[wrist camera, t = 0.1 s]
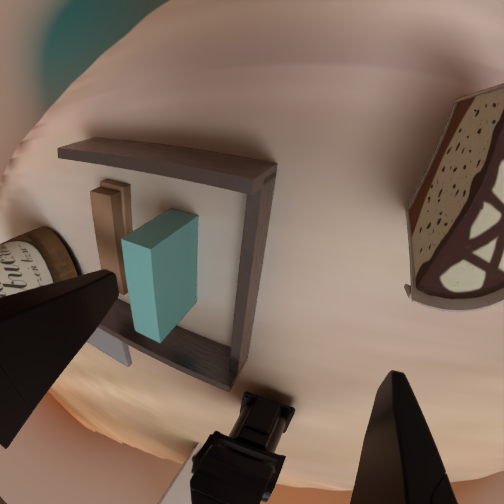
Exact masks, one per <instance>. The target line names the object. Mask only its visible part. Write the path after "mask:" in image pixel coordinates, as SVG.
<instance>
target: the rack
mask: <svg viewBox="0 0 504 504" xmlns="http://www.w3.org/2000/svg"><path fill="white" fill-rule="evenodd" d="M58 158H61V159H68V160H75V161H82V162H88V163H94V164H101V165H107V166H113V167H119V168H124V169H130V170H135V171H141V172H146V173H152V174H157V175H162V176H167V177H172V178H177V179H182V180H187V181H192V182H197V183H201V184H206V185H211V186H215V187H220V188H224V189H229V190H233V191H237V192H242V193H246V194H247V203H246V212H245V221H244V230H243V239H242V248H241V257H240V267H239V276H238V285H237V295H236V304H235V314H234V324H233V334H232V344H231V348H229V347H227V346H224V345H222V344H219V343H217V342H214V341H212V340H209V339H207V338H204V337H202V336H199V335H197V334H194V333H192V332H190V331H187V330H185V329H182V328H180V327H178V326H175V327H174V328H173V329H172V331H171V332H170V333H169V334H168V335H167V336H166V337H165V338H164V340H163V341H162V342H161V343H159V342H157V341H155V340H153V339H151V338H149V337H146V336H145V335H143V334H141V333H139V332H137V331H135V327H134V322H133V317H132V311H131V306H130V304H127V303H125V302H123V301H121V300H119V299H117V300H116V301H115V303H114V304H113V306H112V307H111V309H110V310H109V311H108V313H107V314H106V316H105V317H104V319H103V320H102V322H101V323H100V325H99V326H98V328H100V329H102V330H103V331H105V332H107V333H108V334H110V335H112V336H114V337H115V338H117V339H119V340H121V341H123V342H124V343H126V344H128V345H130V346H132V347H134V348H136V349H137V350H139V351H141V352H143V353H145V354H147V355H149V356H151V357H153V358H155V359H157V360H159V361H161V362H163V363H165V364H167V365H169V366H171V367H173V368H175V369H177V370H180V371H182V372H184V373H186V374H188V375H190V376H193V377H195V378H197V379H199V380H202V381H204V382H206V383H209V384H211V385H213V386H216V387H218V388H221V389H223V390H225V391H228V392H230V390H231V388H232V386H233V385H234V383H235V381H236V379H237V377H238V376H239V374H240V372H241V370H242V369H243V367H244V365H245V363H246V361H247V358H248V352H249V346H250V340H251V334H252V328H253V321H254V315H255V309H256V303H257V296H258V290H259V284H260V277H261V271H262V264H263V258H264V251H265V245H266V238H267V232H268V225H269V218H270V212H271V205H272V198H273V191H274V185H275V178H276V171H277V164H275V163H270V162H265V161H260V160H255V159H250V158H245V157H239V156H234V155H228V154H223V153H217V152H211V151H205V150H198V149H192V148H185V147H178V146H170V145H163V144H155V143H146V142H137V141H127V140H117V139H105V138H91V139H87V140H84V141H80V142H76V143H73V144H70V145H66V146H63V147H60V148H58Z"/></svg>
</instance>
